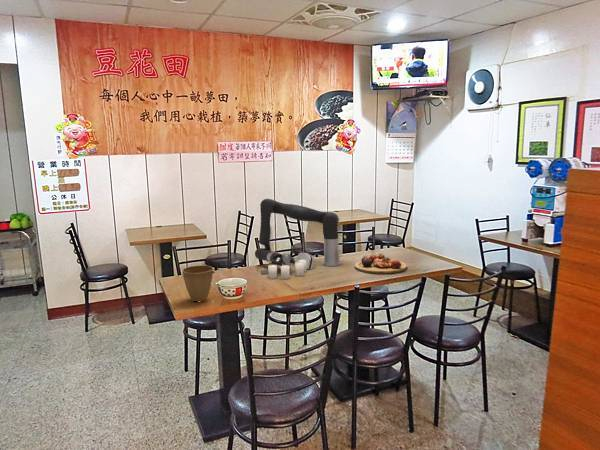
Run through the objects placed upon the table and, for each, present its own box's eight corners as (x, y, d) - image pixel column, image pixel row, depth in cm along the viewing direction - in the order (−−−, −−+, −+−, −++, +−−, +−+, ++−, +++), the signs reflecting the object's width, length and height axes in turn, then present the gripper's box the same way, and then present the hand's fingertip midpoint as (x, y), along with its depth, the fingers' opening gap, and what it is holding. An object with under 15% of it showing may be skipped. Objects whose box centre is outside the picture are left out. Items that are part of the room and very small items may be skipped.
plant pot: (183, 306, 208) (180, 273, 206) (185, 296, 223) (183, 266, 220) (214, 303, 211) (213, 271, 209) (215, 294, 226) (213, 264, 223)
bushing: (290, 272, 263) (290, 253, 261) (291, 275, 258) (291, 255, 256) (282, 273, 262) (281, 253, 260) (283, 275, 257) (282, 255, 255)
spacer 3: (303, 273, 260) (302, 262, 259) (304, 275, 255) (304, 264, 254) (294, 274, 259) (294, 262, 258) (296, 276, 254) (295, 264, 253)
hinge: (293, 264, 282) (297, 249, 282) (299, 266, 284) (303, 251, 284) (304, 270, 267) (309, 254, 267) (311, 272, 270) (315, 256, 270)
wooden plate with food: (417, 271, 260) (418, 257, 259) (370, 277, 249) (370, 262, 248) (388, 260, 290) (388, 248, 288) (345, 265, 279) (345, 253, 277)
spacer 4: (305, 270, 267) (305, 259, 266) (307, 272, 263) (307, 261, 261) (297, 270, 267) (297, 259, 266) (299, 273, 262) (298, 261, 261)
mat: (273, 270, 270) (273, 269, 270) (274, 273, 262) (274, 273, 262) (260, 271, 268) (260, 270, 268) (261, 274, 261) (261, 274, 260)
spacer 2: (289, 276, 255) (288, 264, 254) (290, 278, 250) (290, 267, 249) (280, 277, 254) (280, 265, 253) (281, 279, 249) (281, 267, 248)
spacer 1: (276, 276, 257) (276, 264, 255) (277, 278, 252) (277, 266, 251) (268, 276, 256) (267, 265, 255) (269, 279, 251) (268, 267, 250)
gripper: (264, 254, 267) (277, 258, 253) (284, 250, 274) (298, 255, 260) (265, 265, 268) (277, 271, 254) (285, 262, 275) (298, 267, 262)
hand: (288, 263), depth 257 cm, fingers open, 8 cm apart
